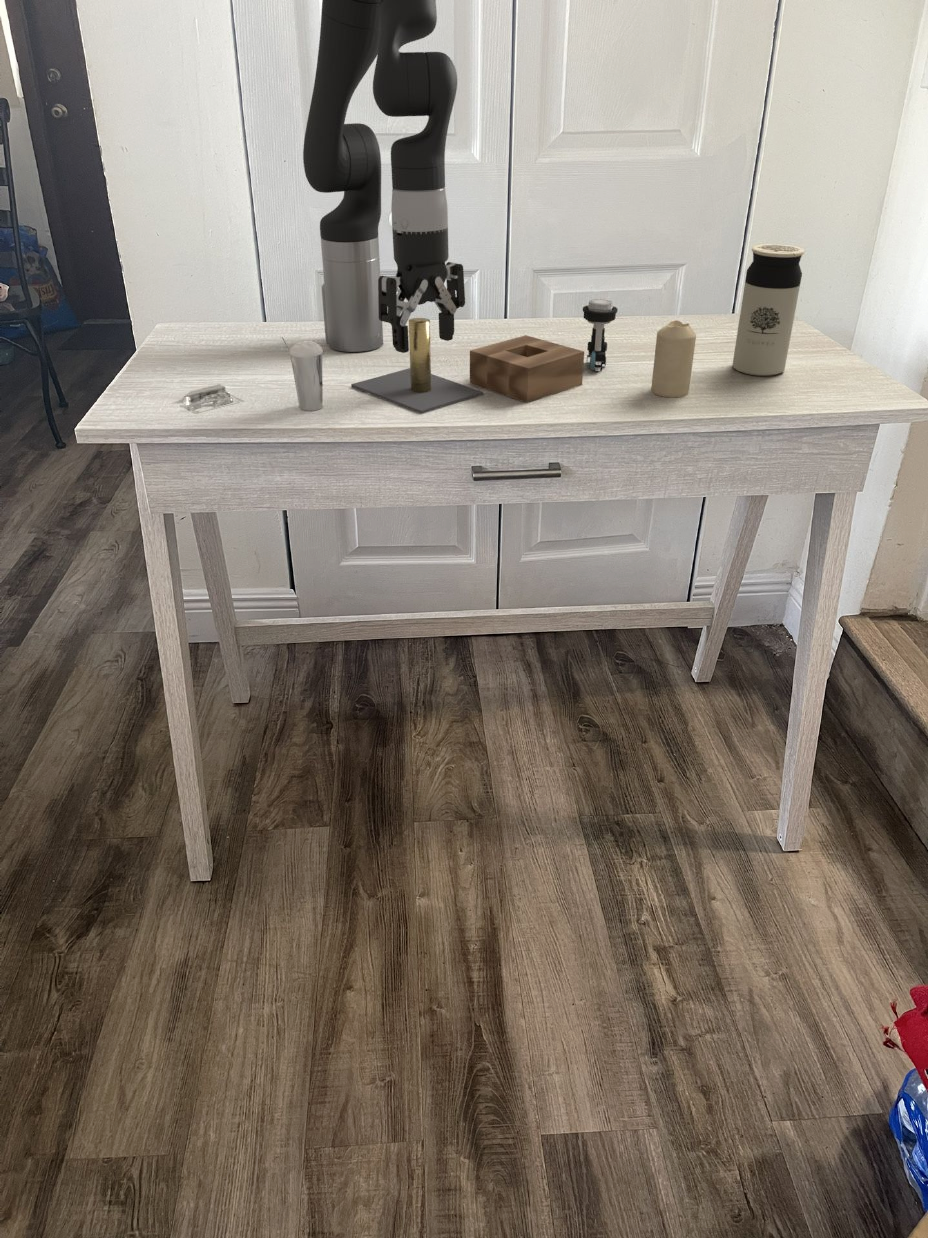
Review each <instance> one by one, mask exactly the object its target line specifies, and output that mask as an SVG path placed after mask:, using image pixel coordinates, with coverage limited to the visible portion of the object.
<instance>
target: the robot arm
mask: <svg viewBox="0 0 928 1238" xmlns="http://www.w3.org/2000/svg"><path fill="white" fill-rule="evenodd" d="M436 1H437V0H322V3H321V15H320V30H319V31H320V32H319V41H318V42H319V43H318V49H317V50H318V51H317V60H316V70H315V77H314V83H313V89H312V95H311V100H310V105H309V111H308V117H307V121H306V127H305V131H304V132H305V133H304V138H303V139H304V140H303V148H302V150H303V152H302V153H303V154H302V159H303V169H304V174H305V178H306V180H307V182H308V184H309V186H310V187H311V188H312V189H313V190H314V191H316V192H319V193H323V194H325V193H327V194H328V193H339V192H341V193H342V192H344V193H343V196H342V197H343V198H342V200H341V202H339V204H338V205H337V206H336V207H335V208H334V209H333V210H331V211H330V212H328V213H326V214H325V215H324V216H323V217H321V219H320V222H319V236H320V244H321V245H320V246H321V258H322V260H321V261H322V273H323V284H322V285H321V294H322V295H321V296H322V297H321V298H322V310H323V321H324V322H323V323H324V324H323V325H324V334H325V336H324V337H325V343H328V346H329V347H330V348H331V349H333V350H335V351H339V352H340V351H341V352H349V353H350V352H351V353H352V352H353V353H356V352H357V353H358V352H366V351H373V350H376V349H379V348H381V347H382V346H383V344H384V332H383V330H384V329H383V322H384V323H388V324H390V326H391V334H392V335H391V336H392V338H391V339H392V347H393V348H394V350H395V351H396V352H398V353H402V354H405V353H408V352H410V346H409V325H407V323H408V322H409V320H410V319H409V318H410V317H411V314H412V313H414V312H415V311H416V310H417V307H418V305H419V306H422V305H424V304H427V302H430V303H434V305H436V307H437V308H438V309H439V313H438V336H439V339H440V340H442V341H447V342H450V341H452V340H453V338H454V335H455V313H456V312H457V310H458V309H459V308H464V307H465V305H466V294H465V292H466V291H465V275H464V265H463V264H462V263H456V262H450V261H448V260H449V216H448V213H449V209H448V201H447V194H446V192H447V191H446V169H445V168H446V167H445V164H446V163H445V160H446V159H445V158H446V157H445V156H446V145H447V144H446V142H447V136H448V131H449V130H448V129H449V125H450V120H451V116H452V112H453V108H454V104H455V100H456V95H457V90H458V75H457V73H458V72H457V69H456V66H455V65H454V62H453V60H452V59H451V57H449V56H448V55H447V54H446V53H444V52H442V51H425V52H424V51H416V52H415V51H412V52H409V51H408V52H403V51H400V49H401V48H402V47H403V46H405V45H406V44H410V43H412V42H416V41H419V40H422V39H424V38H426V37H429V36H430V35H431V34H433V32H434V30H435V29H436V26H437V22H438V20H437V19H438V17H437V16H438V15H437V2H436ZM375 59H376V62H375V67H374V73H373V78H372V79H373V80H372V95H373V99H374V100H375V104H376V106H377V107H378V109H379V110H380V111H381V112H382V113H383V114H384V115H385V116H387V117H395V118H398V117H399V118H400V117H401V118H402V117H426V116H427V117H428V120H427V122H426V125H425V126H424V129H422V130H421V131H420V132H419V133H416V134H413V135H410V136H406V137H402V138H399V139H397V140H395V141H393V143H392V144H391V146H390V165H391V169H390V170H391V183H392V184H391V186H392V190H391V192H392V193H391V208H390V209H391V228H392V248H393V260H394V261H395V263H396V267H397V270H396V274H395V275H394V276H386V275H381V265H380V264H381V262H380V243H379V241H380V239H379V225H380V221H381V217H382V157H381V155H382V154H381V150H380V145H379V141H378V139H377V136H376V134H375V132H374V131H373V129H372V128H371V127H370V126H368V125H367V124H364V123H361V122H359V123H353V122H352V123H345V122H346V117H347V114H348V113H347V112H348V108H349V105H350V103H351V100H352V97H353V95H354V92H355V91H356V89H357V88H358V86H359V84H360V82H361V81H362V79H363V78H364V76H365V75H366V74H367V72H368V70H369V69H370V67H371V66H372V65H373V62H374V61H375ZM447 261H448V262H447ZM445 282H446V286H445ZM405 300H407V301H405Z"/></svg>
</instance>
